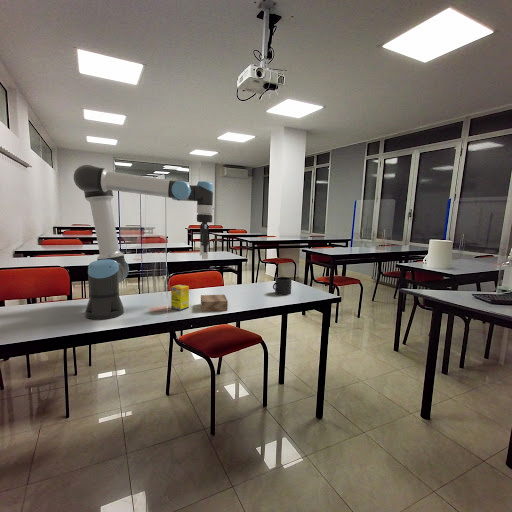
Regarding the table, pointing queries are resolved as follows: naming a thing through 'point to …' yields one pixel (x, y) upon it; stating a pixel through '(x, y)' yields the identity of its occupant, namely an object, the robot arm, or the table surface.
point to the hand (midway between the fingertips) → (203, 257)
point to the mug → (282, 285)
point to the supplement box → (179, 297)
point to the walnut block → (214, 303)
